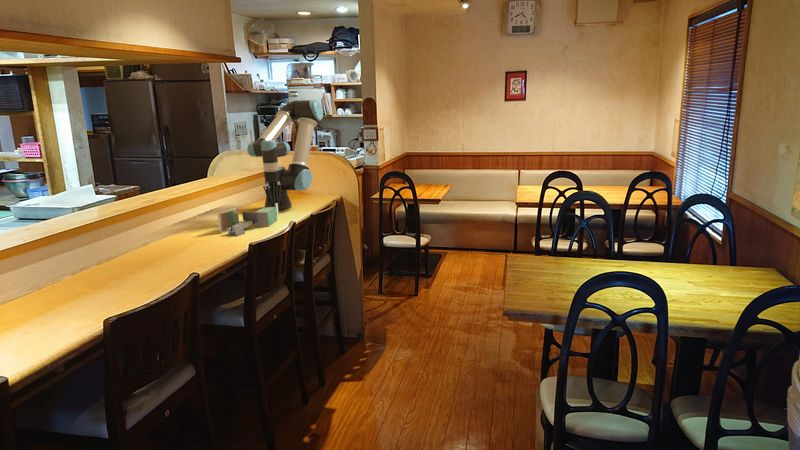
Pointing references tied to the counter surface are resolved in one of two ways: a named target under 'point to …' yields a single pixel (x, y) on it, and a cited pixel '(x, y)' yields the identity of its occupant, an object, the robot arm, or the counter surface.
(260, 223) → the box
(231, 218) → the gauge housing
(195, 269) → the counter surface
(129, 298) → the counter surface
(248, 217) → the plunger
